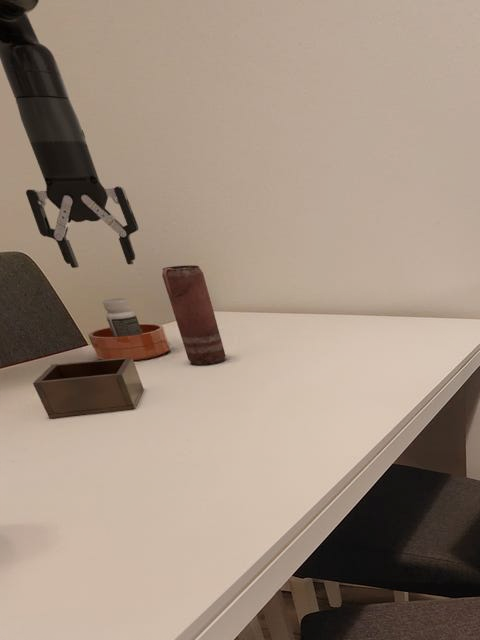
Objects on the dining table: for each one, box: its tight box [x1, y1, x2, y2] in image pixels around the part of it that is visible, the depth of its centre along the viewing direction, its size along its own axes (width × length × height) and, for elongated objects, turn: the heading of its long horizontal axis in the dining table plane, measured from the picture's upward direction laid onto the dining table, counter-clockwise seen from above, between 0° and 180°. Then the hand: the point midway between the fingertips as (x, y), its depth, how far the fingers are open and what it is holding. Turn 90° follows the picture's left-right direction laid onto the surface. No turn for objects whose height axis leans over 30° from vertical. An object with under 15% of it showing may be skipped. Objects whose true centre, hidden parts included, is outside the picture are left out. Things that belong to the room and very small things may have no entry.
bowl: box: [88, 323, 171, 362], centre depth 106 cm, size 12×12×4 cm
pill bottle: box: [102, 298, 142, 337], centre depth 105 cm, size 5×5×8 cm
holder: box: [32, 357, 144, 419], centre depth 82 cm, size 11×11×4 cm
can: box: [161, 264, 226, 366], centre depth 98 cm, size 6×6×14 cm
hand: (103, 265), depth 99 cm, fingers open, 8 cm apart
